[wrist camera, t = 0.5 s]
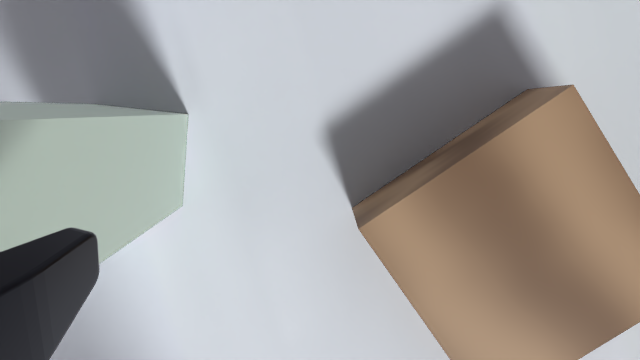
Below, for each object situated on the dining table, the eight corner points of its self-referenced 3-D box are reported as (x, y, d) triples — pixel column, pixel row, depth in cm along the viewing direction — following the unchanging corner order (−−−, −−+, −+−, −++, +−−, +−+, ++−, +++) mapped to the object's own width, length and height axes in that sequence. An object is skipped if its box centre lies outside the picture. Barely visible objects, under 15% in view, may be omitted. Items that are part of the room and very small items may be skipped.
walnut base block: (460, 363, 24) (488, 414, 20) (352, 207, 23) (358, 228, 19) (631, 257, 23) (695, 287, 19) (527, 89, 22) (573, 84, 18)
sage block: (182, 206, 23) (-2, 333, 10) (90, 196, 22) (-217, 312, 10) (188, 114, 22) (-2, 120, 9) (93, 104, 22) (-233, 95, 9)
